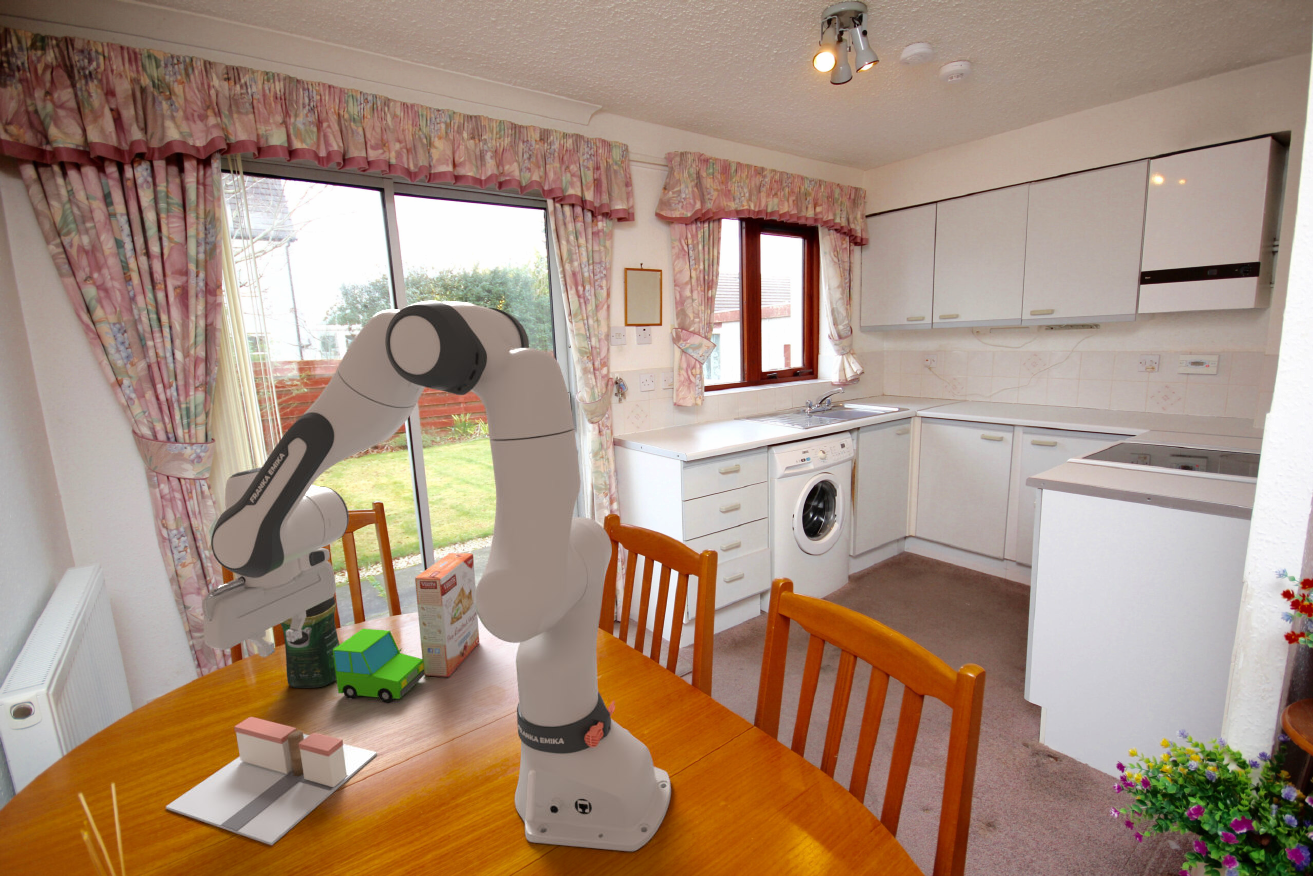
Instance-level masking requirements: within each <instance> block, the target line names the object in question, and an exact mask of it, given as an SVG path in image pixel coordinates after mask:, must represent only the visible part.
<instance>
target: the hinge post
mask: <svg viewBox="0 0 1313 876" xmlns="http://www.w3.org/2000/svg"><path fill="white" fill-rule="evenodd" d="M303 734H304V732H303V730H297V731H295V732H292V733H291V734H289V735H288V743H289V749H290V756H291V762H292V769H293V775H294V776H301V775H303V774H304V773H303V766H302V759H301V753H300V749H299V744H298V743H300V742H301V741H302V740H304V736H303Z"/></svg>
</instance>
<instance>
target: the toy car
mask: <svg viewBox="0 0 1313 876" xmlns="http://www.w3.org/2000/svg"><path fill="white" fill-rule="evenodd" d="M392 634H393V633H392V632H391V630H384V629H374V628H373V629H372V628H362V629H360V630H359V631H357V632H356V633H354V634H353V635H352V636H350V637H349V638H347V639H346V640H345V641H343V642H342V643H339V644H340V645H339V646H337V647H336V648H334V649H333V656H334V664H335V671H336V684H337V693H338V694H344V696H345V698H347V699H349V700H355V699H356V698H357V697H359V696H363V697H373V698H378V699H379V700H380V701H381V702H382V703H385V704H389V703H390V704H391V702H392V701H394V700H395V699H401V698H402V697H403V696H404V695H406V693H407V692H408V691H410V690H411V688H413V687H414V686H415V685H416V684H417V683H418V682H419V681H420V680H421V679H422V678H423V677H425V675H424V664H423V659H422V658H420V657H416V656H412V655H408V654H406V653H405V654H404V653H401V652H402V649H403V647H402V648H400V649H399V648H398V645H397V643H396V641H395V639H394V637H393V635H392Z"/></svg>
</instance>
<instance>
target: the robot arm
mask: <svg viewBox="0 0 1313 876" xmlns="http://www.w3.org/2000/svg"><path fill="white" fill-rule="evenodd" d="M426 388H428V389H432V390H437V391H441V392H446V393H449V394H452V395H457V396H464V395H466V394H468V393H470V392H472V393H473V394H474V395H476V396H477V397H478V398H479V400H480V401H481V403H482V405H483V406H484V410H485V414H486V420H487V427H488V428H487V430H488V437H489V444H490V451H491V459H492V468H493V475H494V484H495V500H496V501H495V516H494V517H495V518H494V525H493V532H492V538H491V545H490V550H489V553H488V554H489V555H488V560H487V561H486V562H487V563H486V565H485V568H484V571H483V573H482V575H481V577H480V579H479V581H478V583H477V585H476V587H475V588H476V591H475V608H476V612H477V615H478V620H479V621H480V622H481V624H482V625H483V627H484V628H485V629H486V630H487V631H488V632H489V633H490V634H491V635H492V636H494V637H495V638H497V639H499V640H501V641H503V642H507V643H513V644H517V643H518V644H519V645H518V647H517V652H516V657H515V666H516V676H517V677H516V680H517V681H516V682H517V690H518V691H517V692H518V704H517V707H516V718H517V719H516V720H517V721H516V722H517V734H518V737H519V740H520V767H519V774H518V775H519V776H518V781H517V785H516V786H517V787H516V790H515V793H514V794H515V795H514V806H515V809H516V811H517V812H518V814H519V817H521V819H522V821H523V822H524V836H525V838H526V840H527V841H528V842H530V843H535V844H536V843H537V844H547V845H559V846H569V847H579V848H588V849H589V848H592V849H599V850H600V849H602V850H613V851H624V852H636V851H638V850H639V849H641V848H642V847H643V846H645V845H646V844H647V843H648V842H649V841H650V840H651V839H652V838H653V837H654V835H655V834H656V833H657V831H658V829H659V828H660V826H661V825H662V822H663V820H664V819H665V816H666V814H667V811H668V808H669V805H670V802H671V795H672V787H671V779H670V777H669V773H668V772H667V771H666V770H664V769H662V768H659V767H656V766H654V761H653V758H652V755H651V753H650V750H649V748H648V747H647V746H646V745H645V744H644V743H643V742H642V741H640V739H638V738H636V737H635V736H634V735H632V733H631V732H630V731H629V730H628V729H626V728H623V727H622V726H621V725H620V724H619V723H617V722H616V721H615V720H614V719H612V718H611V717H612V715H613V713H614V712H615V709H616V706H615V703H616V701H615V700H613V701H612V702H611V703H610V705H609V706H608V707H607V706H606V704H605V701H604V699H603V697H602V695H601V694H600V692H599V688H598V684H599V683H598V668H597V667H598V666H597V665H598V664H597V644H598V643H597V640H598V631H599V624H600V619H601V610H602V604H603V603H602V602H603V594H604V586H605V579H606V574H607V570H608V567H609V564H610V562H611V561H610V560H611V558H612V552H613V551H612V548H613V547H612V543H611V539H610V536H609V533H607V531H606V529H604V527H603V526H602V525H601V524H600V523H598V522H597V521H596V520H594V519H592V518H587V517H585V516H584V517H580V516H578V517H574V510H575V506H576V503H577V502H576V501H577V498H578V496H579V493H580V490H581V483H582V482H581V481H582V480H581V472H580V465H579V456H578V448H577V439H576V431H575V424H574V417H573V411H572V407H571V401H570V398H569V397H570V396H569V393H568V389H567V384H566V382H565V378H564V375H563V372H562V369H561V367H560V364H559V362H558V360H557V359H556V358H555V357H554V356H553V355H552V354H550V353H549V352H546V351H545V350H542V349H538V348H533V347H530V341H529V336H528V334H527V331H526V329H525V328H524V325H522V323H521V322H520V321H519V320H518V319H517V318H516V317H515V316H513V315H511V314H510V313H508V312H506V311H505V310H502V309H499V308H496V307H487V306H486V307H485V306H483V305H482V306H481V305H477V304H476V303H472V302H468V301H467V302H466V301H439V300H425V301H420V302H419V301H418V302H415V303H412V304H409V305H407V306H405V307H403V308H402V309H384V310H381V311H379V312H377V313H375V314H374V315H373V316H372V317H371V318H370V319H369V320H368V321H367V322H366V323H365V325H364V326H363V327H362V328H361V330H360V331H359V333H358V334H357V335H356V336H355V338H354V340H353V341H352V342H351V344H350V345H349V346H348V349H347V350H346V352H345V353H344V354H343V357H342V359H341V361H340V362H339V364H338V366H337V369H336V370H335V372H334V373H333V375H332V377H331V379H330V380H329V381H328V383H327V385H326V386H325V387H324V389H323V390H322V392H321V393H320V394H319V396H318V397H317V398H316V399H315V400H314V402H313V403H312V405H311V406H309V408H308V409H307V410H306V411H305V412H304V413H303V414H302V415H301V416H300V417H298V419H297V420H296V421H295V422H294V423H293V424H292V425H291V426H290V427H289V428H288V429H287V431H286V432H285V433H284V434H283V436H282V437H281V438H280V440H279V441H278V443H277V444H276V446H275V447H274V449H272V452H271V453H270V454H269V456H268V457H267V459H266V460H265V462H264V463H263V465H262V466H261V467H257V468H252V469H248V470H243V471H239V472H236V473H233V474H232V475H231V476H230V477H228V478H227V481H226V483H225V489H224V491H225V493H224V500H225V501H224V504H225V511H223V512H222V514H220V516H219V517H218V519H217V520H216V523H215V524H214V527H213V530H212V534H211V538H210V539H211V541H210V542H211V543H210V544H211V545H210V546H211V550H212V555H213V557H214V558H215V559H216V561H217V562H218V564H220V565H221V566H222V567H223V568H224V569H226V570H228V571H229V572H232V573H234V574H235V578H236V579H233V580H231V581H229V582H226V583H225V584H222V585H217V586H215V587H213V588H211V589H210V590H209V592H208V593H206V595H205V596H204V598H203V599H202V601H201V609H202V615H203V640H204V644H205V645H207V646H208V647H209V648H212V649H217V650H223V651H226V650H229V649H231V648H233V647H235V646H237V645H239V644H242V643H243V642H245V641H247V640H249V641H250V642H251V643H252V644H253V645H255V646H256V647H257V653H258V655H259V657H260V658H261V657H262V658H267V657H269V656H270V655H273V654H274V653H275V652H276V649H275V643H274V642H269V641H266V640H265V639H264V638H266V637H267V633H266V631H267V630H269V629H271V628H273V627H275V626H278V625H281V623H282V622H284V621H286V620H288V619H290V618H293V619H292V623H291V626H290V629H289V630H287V631H286V635H287V637H286V638H287V640H288V641H292V642H295V641H296V640H298V639H300V638H302V631H301V628H302V626H303V624H304V621H305V618H306V610H308V609H310V608H312V607H314V606H316V605H318V604H320V603H322V602H324V601H326V600H328V599H330V598H332V597H333V595H334V596H335V593H336V591H337V583H336V579H335V578H336V577H335V573H334V568H333V565H332V564H331V562H330V561H328V560H329V559H330V555H331V554H330V550H329V549H327V548H324V547H326V546H329V545H331V544H333V543H334V542H336V541H338V540H339V539H341V538H342V537H343V536H344V535H345V534H346V533H347V532H346V531H347V530H348V527H349V523H350V522H349V517H350V516H349V515H350V514H349V510H348V506H347V504H346V502H345V500H344V498H343V496H342V495H340V494H339V493H338V492H337V491H336V490H334V489H332V488H330V487H327V486H324V485H323V486H321V485H320V486H318V485H315V484H314V482H316V480H317V479H318V478H320V476H321V475H323V473H325V472H326V471H327V470H329V469H331V468H332V467H333V466H335V465H336V464H338V463H340V462H342V461H345V460H346V459H348V458H350V457H352V456H354V455H357V454H358V453H361V452H363V451H365V450H367V449H370V448H373V447H375V446H377V445H379V444H382V443H383V442H385V441H387V440H389V439H390V438H392V437H393V436H394V435H395V434H396V433H398V430H400V428H401V427H402V426H404V424H405V423H406V421H407V420H408V419H409V417H410V416H411V414H412V413H413V411H414V410H415V408H416V405H417V403H418V401H419V399H420V398H421V396H422V395H423V392H424V391H425V389H426Z"/></svg>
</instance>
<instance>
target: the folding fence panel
mask: <svg viewBox="0 0 1313 876" xmlns="http://www.w3.org/2000/svg"><path fill="white" fill-rule="evenodd" d="M295 731H298V730H297V727H294V726H289V725H286V724H282V723H278V722H274V721H270V720H266V719H262V718H258V717H253V716H249V717H248V718H246V719H244V720H242V721H241V722H240V723H238V724H236V725H235V726H234V732H235V733H236V741H237V747H238V748H237V749H238V752H239V757H240V760H241V761H243V762H247V763H250V764H254V765H257V766H261V767H264V768H268V769H271V770H275V771H278V772H282V773H285V774H288V773H289V772H290V771H291V770H293V769H292V762H291V756H290V749H289V743H288V735H289V734H291V733H292V732H295Z"/></svg>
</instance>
